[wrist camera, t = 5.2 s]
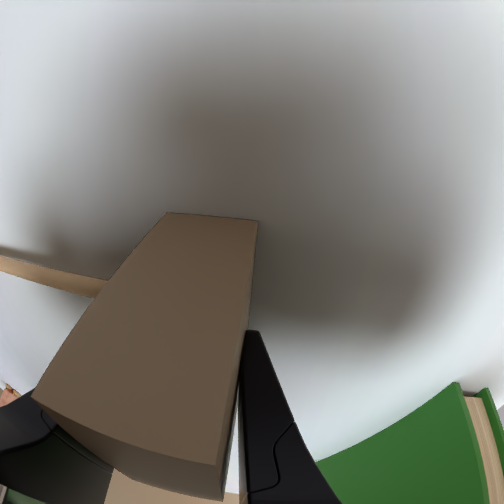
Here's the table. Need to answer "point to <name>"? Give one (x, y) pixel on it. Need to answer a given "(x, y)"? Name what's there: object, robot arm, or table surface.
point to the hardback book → (427, 456)
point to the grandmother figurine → (8, 395)
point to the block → (157, 353)
